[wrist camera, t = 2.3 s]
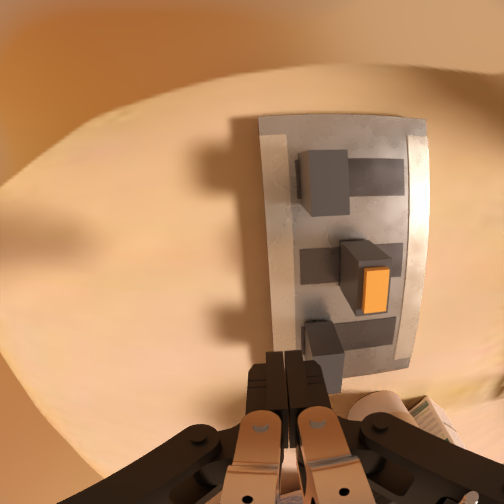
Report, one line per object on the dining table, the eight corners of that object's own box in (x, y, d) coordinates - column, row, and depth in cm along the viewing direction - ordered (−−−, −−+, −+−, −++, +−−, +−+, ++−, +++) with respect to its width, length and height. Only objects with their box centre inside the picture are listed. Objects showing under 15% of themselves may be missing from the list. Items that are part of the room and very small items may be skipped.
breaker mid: (368, 240, 24) (395, 261, 18) (366, 286, 25) (390, 316, 19) (340, 241, 24) (361, 264, 18) (340, 288, 25) (357, 320, 20)
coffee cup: (344, 388, 31) (376, 500, 16) (415, 378, 30) (468, 471, 16) (334, 437, 33) (353, 535, 19) (398, 427, 33) (432, 514, 18)
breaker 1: (330, 152, 22) (347, 149, 17) (332, 204, 23) (349, 215, 18) (298, 152, 22) (308, 150, 17) (301, 205, 23) (311, 217, 18)
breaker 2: (332, 320, 26) (344, 353, 21) (330, 357, 27) (340, 392, 22) (304, 323, 26) (312, 356, 21) (304, 360, 27) (311, 395, 22)
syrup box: (426, 394, 31) (472, 477, 17) (444, 408, 32) (485, 483, 18) (392, 421, 32) (426, 508, 18) (412, 434, 33) (445, 511, 19)
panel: (415, 121, 23) (426, 119, 21) (401, 357, 29) (408, 368, 27) (258, 120, 24) (257, 116, 22) (274, 372, 30) (275, 384, 28)
